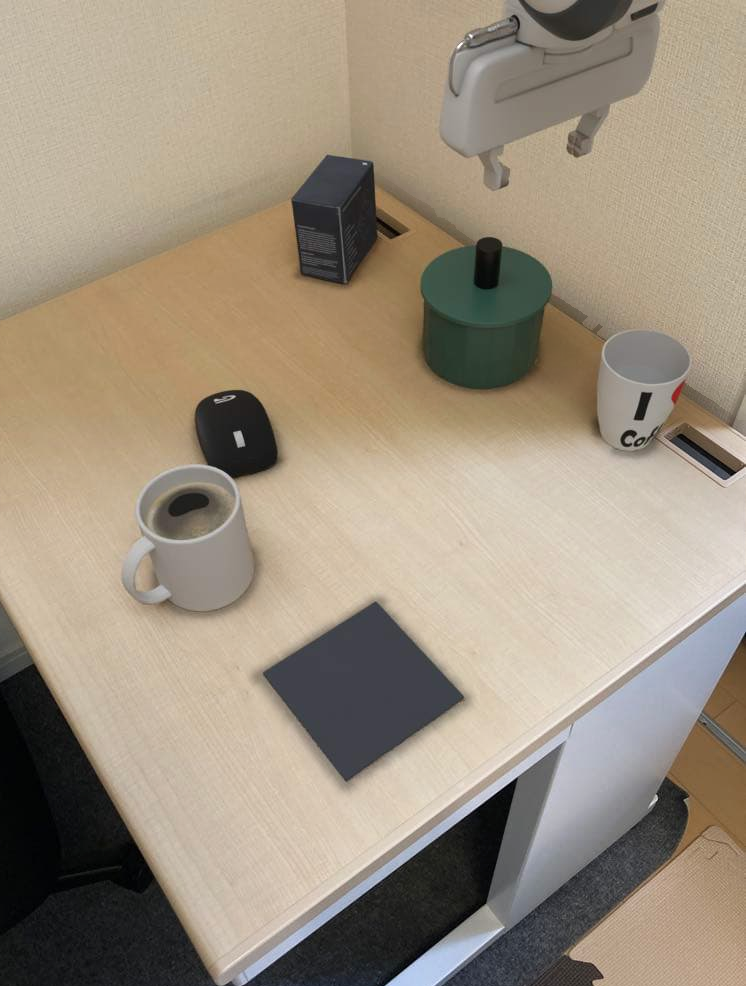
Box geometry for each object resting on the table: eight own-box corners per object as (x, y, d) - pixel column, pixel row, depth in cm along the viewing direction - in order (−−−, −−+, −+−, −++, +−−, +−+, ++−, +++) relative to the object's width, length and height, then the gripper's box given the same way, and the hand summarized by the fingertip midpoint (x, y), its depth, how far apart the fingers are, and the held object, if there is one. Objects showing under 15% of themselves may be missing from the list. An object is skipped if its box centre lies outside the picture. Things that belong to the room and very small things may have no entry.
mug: (251, 530, 87) (237, 457, 79) (258, 611, 81) (243, 541, 73) (138, 544, 87) (112, 472, 79) (136, 627, 81) (108, 558, 73)
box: (331, 229, 118) (326, 152, 110) (378, 238, 116) (377, 161, 108) (297, 275, 112) (289, 197, 104) (346, 286, 110) (342, 207, 102)
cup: (615, 472, 89) (636, 396, 82) (569, 420, 94) (585, 344, 86) (683, 445, 91) (710, 368, 83) (635, 396, 96) (656, 319, 88)
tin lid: (553, 258, 99) (560, 210, 94) (548, 338, 90) (556, 290, 86) (428, 250, 101) (429, 203, 96) (412, 327, 92) (413, 280, 88)
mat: (376, 603, 81) (376, 600, 81) (464, 698, 75) (464, 696, 74) (263, 674, 77) (262, 672, 77) (346, 782, 71) (345, 779, 70)
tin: (539, 319, 105) (549, 255, 98) (534, 393, 97) (544, 329, 90) (430, 311, 106) (432, 248, 100) (416, 383, 99) (417, 320, 92)
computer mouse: (254, 392, 99) (250, 364, 96) (285, 467, 92) (281, 439, 89) (187, 410, 98) (180, 381, 95) (213, 487, 91) (206, 459, 88)
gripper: (477, 52, 66) (464, 224, 76) (685, -18, 72) (646, 149, 83) (426, 23, 69) (421, 190, 80) (629, -42, 75) (599, 121, 86)
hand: (537, 169), depth 81 cm, fingers open, 8 cm apart
